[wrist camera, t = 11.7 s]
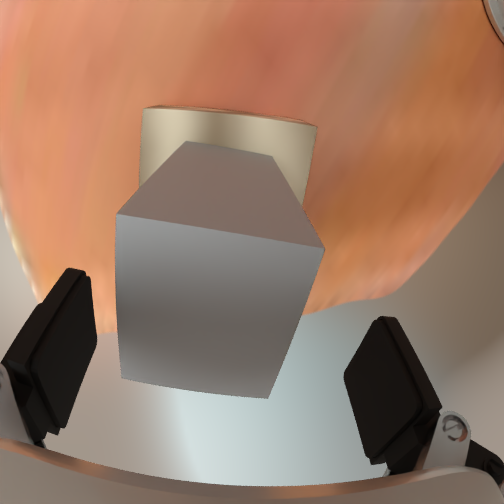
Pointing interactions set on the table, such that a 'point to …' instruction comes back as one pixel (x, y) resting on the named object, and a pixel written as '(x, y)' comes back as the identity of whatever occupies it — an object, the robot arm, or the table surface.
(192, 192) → the grey block
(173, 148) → the beige metal block
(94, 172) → the table surface
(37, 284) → the table surface
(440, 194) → the table surface
